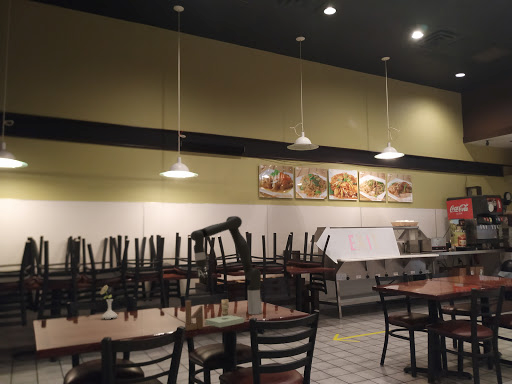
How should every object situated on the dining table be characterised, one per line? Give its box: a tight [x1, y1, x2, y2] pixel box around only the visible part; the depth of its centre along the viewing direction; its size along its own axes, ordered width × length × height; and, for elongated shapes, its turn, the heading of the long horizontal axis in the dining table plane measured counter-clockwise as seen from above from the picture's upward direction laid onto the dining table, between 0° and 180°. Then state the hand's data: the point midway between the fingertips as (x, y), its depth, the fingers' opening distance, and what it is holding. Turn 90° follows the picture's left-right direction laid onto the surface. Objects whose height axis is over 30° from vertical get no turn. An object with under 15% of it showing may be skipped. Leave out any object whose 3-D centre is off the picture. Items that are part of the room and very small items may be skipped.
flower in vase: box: [99, 284, 119, 320], centre depth 313 cm, size 13×11×25 cm
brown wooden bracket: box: [184, 299, 204, 332], centre depth 267 cm, size 4×11×18 cm, turn 113°
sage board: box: [205, 314, 245, 328], centre depth 281 cm, size 20×16×3 cm
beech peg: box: [221, 298, 230, 316], centre depth 298 cm, size 5×5×13 cm
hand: (203, 282), depth 291 cm, fingers open, 8 cm apart
